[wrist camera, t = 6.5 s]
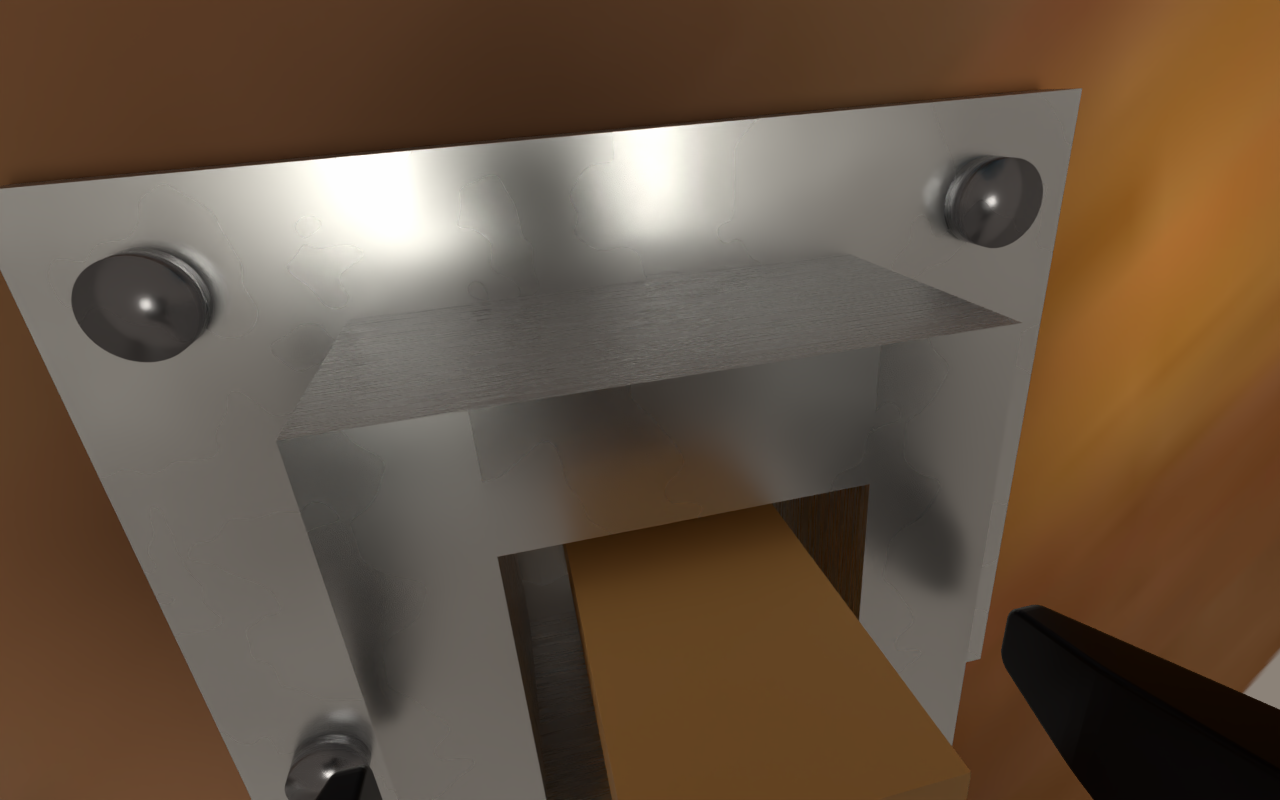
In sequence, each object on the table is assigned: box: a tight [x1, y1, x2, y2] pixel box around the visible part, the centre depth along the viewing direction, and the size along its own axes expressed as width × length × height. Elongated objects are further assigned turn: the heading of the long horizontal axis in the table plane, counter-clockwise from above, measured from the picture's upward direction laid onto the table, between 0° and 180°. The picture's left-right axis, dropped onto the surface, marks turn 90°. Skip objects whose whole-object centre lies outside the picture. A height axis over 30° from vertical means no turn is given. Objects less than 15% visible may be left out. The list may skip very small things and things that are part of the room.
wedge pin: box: [563, 503, 971, 800], centre depth 10 cm, size 3×3×8 cm
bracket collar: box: [0, 88, 1082, 800], centre depth 12 cm, size 14×18×6 cm
